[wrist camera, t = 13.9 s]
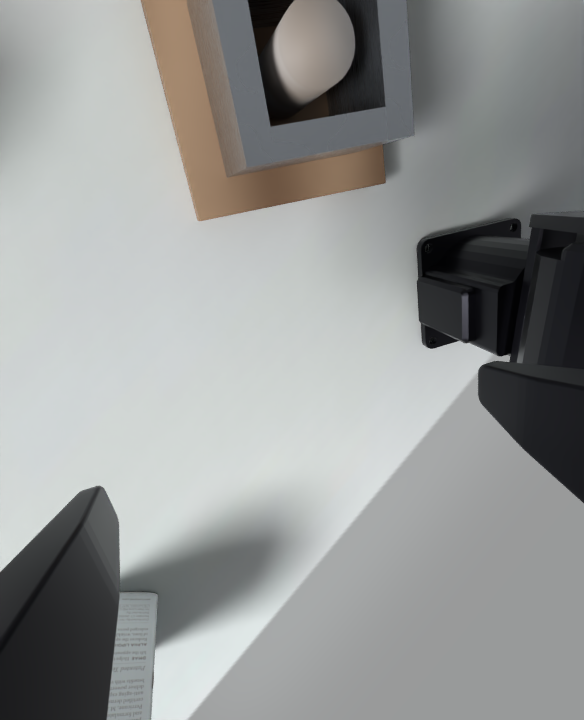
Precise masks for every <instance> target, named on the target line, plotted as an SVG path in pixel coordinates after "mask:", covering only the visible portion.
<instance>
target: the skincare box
mask: <svg viewBox="0 0 584 720" xmlns="http://www.w3.org/2000/svg"><path fill="white" fill-rule="evenodd" d="M157 604H158V595H157V594H156V593H146V592H120V598H119V610H118V620H117V629H116V638H115V648H114V657H113V666H112V676H111V685H110V694H109V704H108V713H107V720H151V712H152V693H153V681H154V658H155V641H156V623H157Z"/></svg>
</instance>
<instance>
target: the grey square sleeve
mask: <svg viewBox="0 0 584 720" xmlns="http://www.w3.org/2000/svg"><path fill="white" fill-rule="evenodd" d="M293 1H295V0H187V7H188V11H189V15H190V20H191V24H192V28H193V33H194V37H195V42H196V46H197V50H198V55H199V59H200V63H201V68H202V72H203V76H204V81H205V85H206V90H207V94H208V98H209V103H210V107H211V111H212V116H213V120H214V124H215V129H216V133H217V138H218V142H219V146H220V151H221V155H222V159H223V164H224V168H225V173H226V177H227V178H228V177H233V176H239V175H244V174H249V173H254V172H259V171H264V170H269V169H274V168H280V167H285V166H290V165H295V164H300V163H305V162H310V161H315V160H321V159H326V158H331V157H336V156H341V155H346V154H351V153H356V152H359V151H363V150H366V149H369V148H373V147H376V146H380V145H383V144H386V143H390V142H393V141H397V140H400V139H403V138H407V137H410V136H414V120H413V103H412V86H411V68H410V51H409V34H408V16H407V0H337V1H338V2H339V3H340V4H341V5H342V6H343V8H344V9H345V10H346V12H347V14H348V16H349V18H350V20H351V23H352V25H353V29H354V35H355V51H354V57H353V61H352V63H351V66H350V68H349V70H348V72H347V73H346V75H345V76H344V77H343V78H342V79H341V80H340V81H339V82H338V83H336V84H335V85H334V86H332V87H331V88H330V89H328V90H327V91H326V96H327V104H328V111H329V117H324V118H318V119H312V120H307V121H301V122H295V123H289V124H284V125H278V126H272V127H270V121H269V116H268V110H267V105H266V99H265V94H264V88H263V83H262V77H261V72H260V66H259V61H258V55H257V49H256V44H255V38H254V33H253V29H256V28H264V27H272V26H278V24H279V23H280V21H281V19H282V17H283V16H284V14H285V12H286V11H287V9H288V8H289V6H290V5H291V4H292V3H293Z"/></svg>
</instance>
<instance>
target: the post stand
mask: <svg viewBox="0 0 584 720" xmlns="http://www.w3.org/2000/svg"><path fill="white" fill-rule="evenodd" d="M141 3H142V7H143V11H144V15H145V19H146V23H147V26H148V30H149V34H150V38H151V42H152V46H153V50H154V54H155V57H156V61H157V65H158V69H159V73H160V77H161V81H162V84H163V88H164V92H165V96H166V100H167V104H168V108H169V112H170V115H171V119H172V123H173V127H174V131H175V135H176V139H177V143H178V146H179V150H180V154H181V158H182V162H183V166H184V170H185V173H186V177H187V181H188V185H189V189H190V193H191V197H192V201H193V204H194V208H195V212H196V216H197V220H198V221H203V220H208V219H213V218H218V217H223V216H228V215H233V214H237V213H242V212H247V211H252V210H257V209H262V208H267V207H272V206H276V205H281V204H286V203H291V202H296V201H301V200H306V199H311V198H315V197H320V196H325V195H330V194H335V193H340V192H345V191H350V190H354V189H359V188H364V187H369V186H374V185H379V184H384V183H386V180H385V168H384V155H383V145H380V146H376V147H373V148H369V149H366V150H363V151H359V152H356V153H351V154H346V155H341V156H336V157H331V158H326V159H321V160H315V161H310V162H305V163H300V164H295V165H290V166H285V167H280V168H274V169H269V170H264V171H259V172H254V173H249V174H244V175H239V176H233V177H228V178H227V177H226V173H225V168H224V164H223V159H222V155H221V151H220V146H219V142H218V138H217V133H216V129H215V124H214V120H213V116H212V111H211V107H210V103H209V98H208V94H207V90H206V85H205V81H204V76H203V72H202V68H201V63H200V59H199V55H198V50H197V46H196V42H195V37H194V33H193V28H192V24H191V20H190V15H189V11H188V7H187V0H141ZM253 33H254V38H255V44H256V49H257V55H258V61H259V66H260V72H261V77H262V83H263V88H264V94H265V99H266V105H267V110H268V116H269V121H270V127H272V126H278V125H284V124H289V123H295V122H301V121H307V120H312V119H318V118H324V117H329V111H328V104H327V96H326V91H327V90H328V89H330V88H331V87H332V86H334V85H335V84H336V83H338V82H339V81H340V80H341V79H342V78H343V77H344V76H345V75H346V73H347V72H348V70H349V68H350V66H351V63H352V61H353V57H354V51H355V35H354V29H353V25H352V23H351V20H350V18H349V16H348V14H347V12H346V10H345V9H344V8H343V6H342V5H341V4H340V3H339V2H338V1H337V0H295V1H293V3H292V4H291V5H290V6H289V8H288V9H287V11H286V12H285V14H284V16H283V17H282V19H281V21H280V23H279V24H278V26H272V27H264V28H256V29H253Z"/></svg>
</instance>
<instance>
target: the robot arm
mask: <svg viewBox="0 0 584 720" xmlns="http://www.w3.org/2000/svg"><path fill="white" fill-rule="evenodd" d="M511 225H512V229H511V230H510V226H511ZM529 227H532V229H531V236H530V239H523V238H521V222H520V221H519V220H518V219H515V218H508V219H504V220H500V221H496V222H491V223H487V224H483V225H479V226H475V227H470V228H466V229H462V230H458V231H454V232H449V233H445V234H441V235H437V236H433V237H428V238H424V239H422V240H421V241H420V242H419V243H418V245H417V261H418V281H417V292H418V310H419V321H420V322H421V333H422V343H423V345H424V346H426V347H428V348H430V349H433V348H437V347H440V346H443V345H447V344H450V343H453V342H457V341H461V342H463V343H471V344H473V345H475V346H477V347H480V348H482V349H484V350H486V351H488V352H491V353H493V354H495V355H497V356H504V355H509V356H510V362H502V361H494V362H490V363H487V364H484V365H482V366H481V367H480V368H479V371H478V396H479V400H480V402H481V404H482V405H483V406H484V407H485V408H486V409H487V410H488V412H489V413H490V414H491V415H492V416H493V417H494V418H495V419H496V420H497V421H498V422H499V424H500V425H501V426H502V427H503V428H504V429H505V430H506V431H507V432H508V433H509V434H510V435H511V437H512V438H513V439H514V440H515V441H516V442H517V443H518V444H519V445H520V446H521V447H522V448H523V449H524V450H525V451H526V452H527V453H528V454H529V455H530V456H532V457H533V458H534V459H535V460H536V461H537V462H538V463H539V464H540V465H542V466H543V467H544V468H545V469H546V470H547V471H548V472H549V473H551V474H552V475H553V476H554V477H555V478H556V479H557V480H558V481H559V482H561V483H562V484H563V485H564V486H565V487H566V488H567V489H568V490H570V491H571V492H572V493H573V494H574V495H575V496H576V497H577V498H578V499H580V500H581V501H582V502H583V503H584V211H573V212H556V213H539V214H531V219H530V225H529ZM427 244H428V245H429V249H428V251H427V252H425V246H426V245H427ZM432 337H433V340H432V341H431V342H430V343H429V341H430V339H431V338H432ZM119 598H120V558H119V522H118V518H117V515H116V512H115V510H114V508H113V506H112V504H111V502H110V499H109V497H108V495H107V493H106V491H105V489H104V488H103V487H102V486H96V487H93V488H89V489H86V490H83V491H81V492H79V493H78V494H77V495H76V496H75V497H74V498H73V499H72V500H71V501H70V502H69V503H68V504H67V505H66V506H65V507H64V508H63V509H62V510H61V511H60V512H59V513H58V514H57V515H56V516H55V517H54V518H53V519H52V520H51V521H50V522H49V523H48V524H47V525H46V526H45V527H44V528H43V529H42V530H41V532H40V533H39V534H38V535H37V536H36V537H35V538H34V539H33V540H32V541H31V542H30V543H29V544H28V545H27V546H26V547H25V548H24V549H23V550H22V551H21V552H20V553H19V554H18V555H17V556H16V557H15V558H14V559H13V560H12V561H11V562H10V563H9V564H8V565H7V566H6V567H5V568H4V569H3V570H2V571H1V572H0V720H107V713H108V704H109V694H110V685H111V676H112V666H113V657H114V648H115V638H116V629H117V620H118V610H119Z"/></svg>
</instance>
